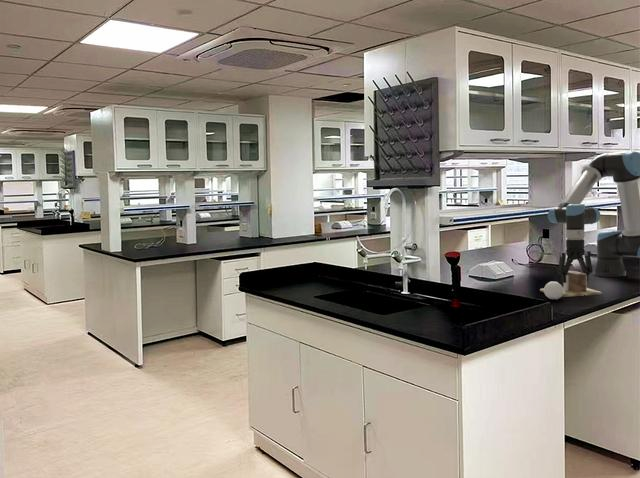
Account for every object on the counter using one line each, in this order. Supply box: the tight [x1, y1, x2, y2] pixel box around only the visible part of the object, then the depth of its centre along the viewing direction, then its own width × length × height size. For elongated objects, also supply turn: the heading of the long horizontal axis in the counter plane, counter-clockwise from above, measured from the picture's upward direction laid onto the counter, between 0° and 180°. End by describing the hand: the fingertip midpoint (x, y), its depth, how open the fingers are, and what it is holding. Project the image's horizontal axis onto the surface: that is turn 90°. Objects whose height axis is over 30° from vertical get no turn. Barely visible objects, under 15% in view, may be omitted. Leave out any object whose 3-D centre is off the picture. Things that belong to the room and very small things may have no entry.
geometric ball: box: [543, 281, 564, 300], centre depth 241 cm, size 8×8×8 cm
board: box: [539, 286, 603, 298], centre depth 254 cm, size 20×16×1 cm
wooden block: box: [567, 270, 586, 292], centre depth 254 cm, size 4×10×8 cm, turn 7°
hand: (575, 289), depth 254 cm, fingers open, 8 cm apart
